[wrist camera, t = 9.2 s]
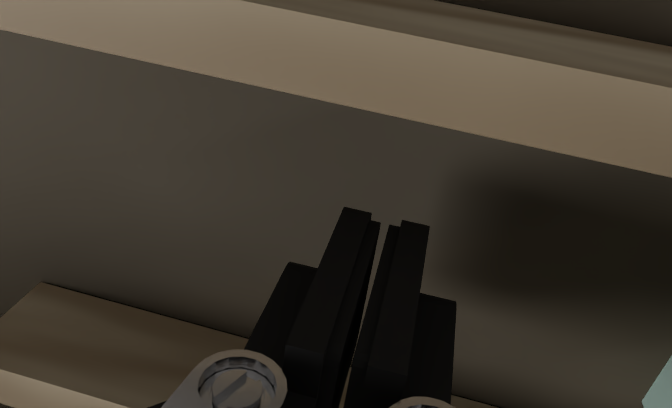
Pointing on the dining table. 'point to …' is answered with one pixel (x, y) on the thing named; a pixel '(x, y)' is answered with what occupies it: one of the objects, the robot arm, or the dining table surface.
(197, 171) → the dining table surface
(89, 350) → the channel
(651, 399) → the block
